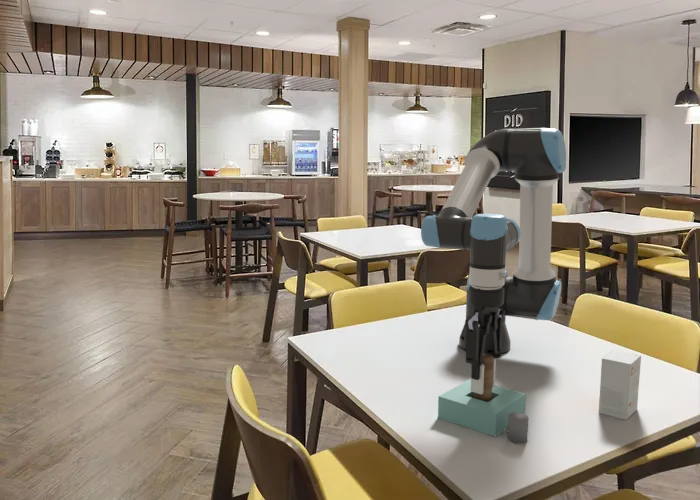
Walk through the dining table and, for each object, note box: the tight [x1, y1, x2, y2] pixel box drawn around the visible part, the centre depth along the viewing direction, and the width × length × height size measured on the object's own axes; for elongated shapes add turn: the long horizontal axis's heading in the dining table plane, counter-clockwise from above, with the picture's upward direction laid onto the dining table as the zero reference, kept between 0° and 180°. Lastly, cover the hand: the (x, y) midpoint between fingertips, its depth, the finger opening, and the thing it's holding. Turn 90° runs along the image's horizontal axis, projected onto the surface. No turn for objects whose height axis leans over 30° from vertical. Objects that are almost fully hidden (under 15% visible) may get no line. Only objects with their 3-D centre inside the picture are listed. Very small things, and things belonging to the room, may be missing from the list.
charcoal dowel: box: [507, 412, 530, 445], centre depth 128 cm, size 4×4×5 cm
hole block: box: [437, 378, 527, 437], centre depth 139 cm, size 14×14×5 cm
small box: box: [598, 349, 642, 421], centre depth 141 cm, size 8×6×13 cm
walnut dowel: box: [473, 354, 493, 402], centre depth 138 cm, size 4×4×14 cm
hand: (482, 388), depth 138 cm, fingers open, 4 cm apart
